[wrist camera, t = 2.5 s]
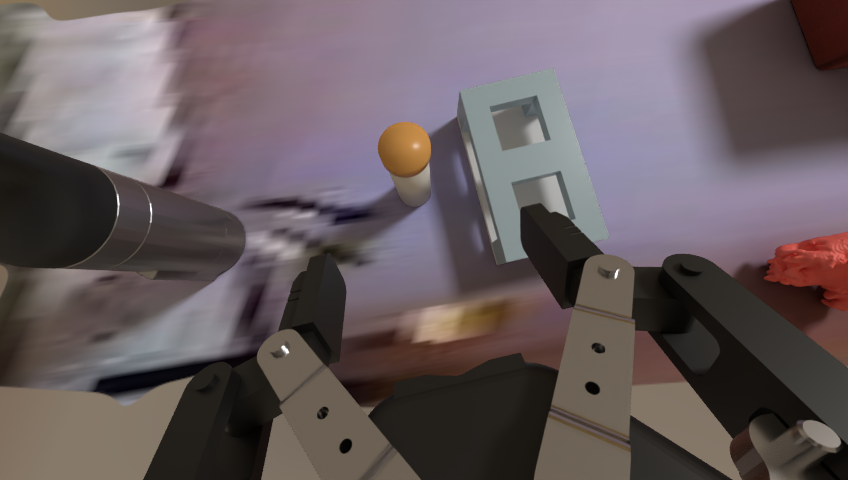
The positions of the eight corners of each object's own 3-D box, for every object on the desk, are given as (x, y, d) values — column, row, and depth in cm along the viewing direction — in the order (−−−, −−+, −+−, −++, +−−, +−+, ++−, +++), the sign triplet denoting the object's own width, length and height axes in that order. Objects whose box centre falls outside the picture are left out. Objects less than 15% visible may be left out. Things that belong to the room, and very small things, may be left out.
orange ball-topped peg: (422, 214, 42) (415, 180, 28) (390, 199, 43) (368, 158, 29) (438, 183, 43) (439, 135, 29) (407, 168, 43) (393, 113, 29)
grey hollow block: (584, 244, 40) (609, 238, 35) (496, 265, 41) (506, 262, 35) (537, 97, 44) (553, 68, 38) (456, 116, 44) (459, 90, 38)
